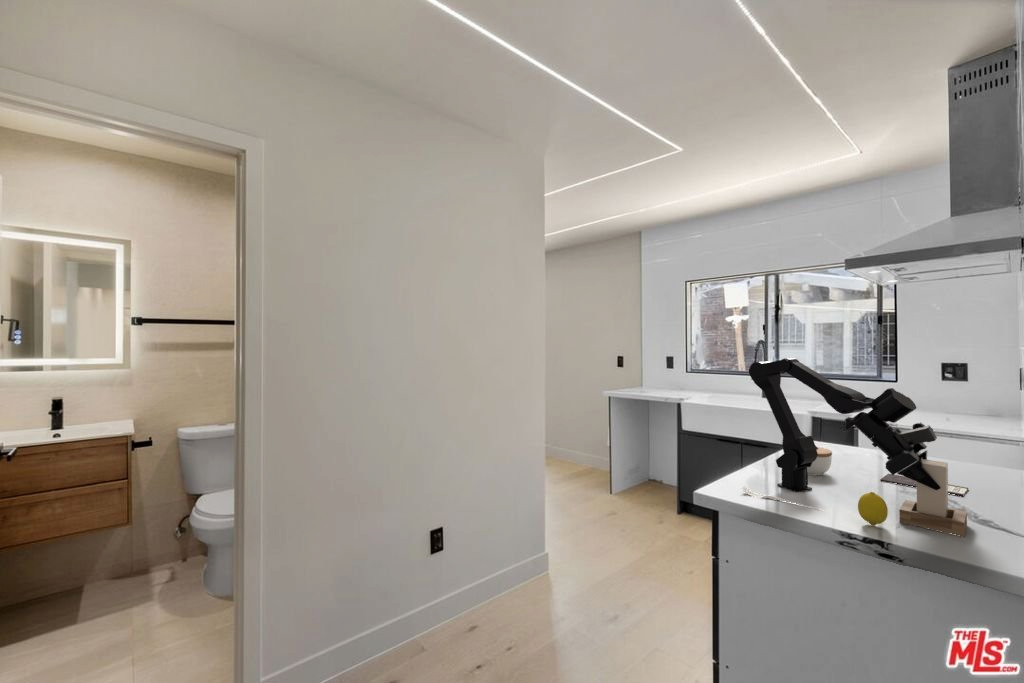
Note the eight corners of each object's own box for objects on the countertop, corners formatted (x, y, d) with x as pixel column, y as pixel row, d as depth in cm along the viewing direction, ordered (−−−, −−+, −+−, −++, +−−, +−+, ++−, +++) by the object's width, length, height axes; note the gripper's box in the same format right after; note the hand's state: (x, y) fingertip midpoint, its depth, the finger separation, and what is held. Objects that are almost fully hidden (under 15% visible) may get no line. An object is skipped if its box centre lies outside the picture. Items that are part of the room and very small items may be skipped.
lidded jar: (785, 471, 150) (785, 443, 149) (806, 466, 154) (805, 439, 154) (819, 480, 140) (818, 450, 140) (839, 475, 144) (839, 446, 144)
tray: (964, 537, 100) (964, 522, 100) (899, 522, 108) (899, 509, 108) (967, 525, 106) (966, 511, 106) (905, 512, 114) (905, 499, 114)
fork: (823, 515, 115) (823, 508, 115) (740, 494, 129) (740, 488, 129) (825, 511, 117) (826, 504, 117) (744, 491, 131) (744, 485, 131)
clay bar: (945, 518, 103) (945, 467, 103) (916, 512, 107) (916, 462, 107) (947, 512, 107) (947, 462, 106) (919, 506, 110) (919, 458, 110)
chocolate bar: (888, 473, 143) (968, 487, 129) (888, 476, 143) (968, 491, 129) (880, 479, 138) (962, 495, 123) (880, 482, 138) (962, 498, 124)
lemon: (879, 532, 103) (879, 497, 103) (852, 523, 108) (852, 490, 108) (893, 527, 105) (892, 493, 105) (866, 519, 110) (866, 486, 110)
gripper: (903, 418, 103) (972, 476, 95) (915, 408, 116) (976, 459, 108) (861, 446, 109) (922, 503, 101) (876, 434, 122) (932, 484, 114)
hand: (940, 486), depth 106 cm, fingers closed on clay bar, 5 cm apart
